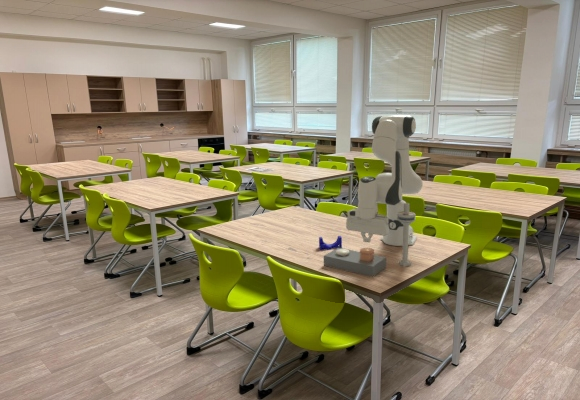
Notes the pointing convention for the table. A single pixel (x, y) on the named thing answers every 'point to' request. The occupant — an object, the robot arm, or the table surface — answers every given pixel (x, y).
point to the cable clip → (330, 246)
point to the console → (355, 263)
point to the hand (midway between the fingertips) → (366, 241)
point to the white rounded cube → (342, 252)
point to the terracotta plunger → (366, 254)
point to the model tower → (405, 232)
